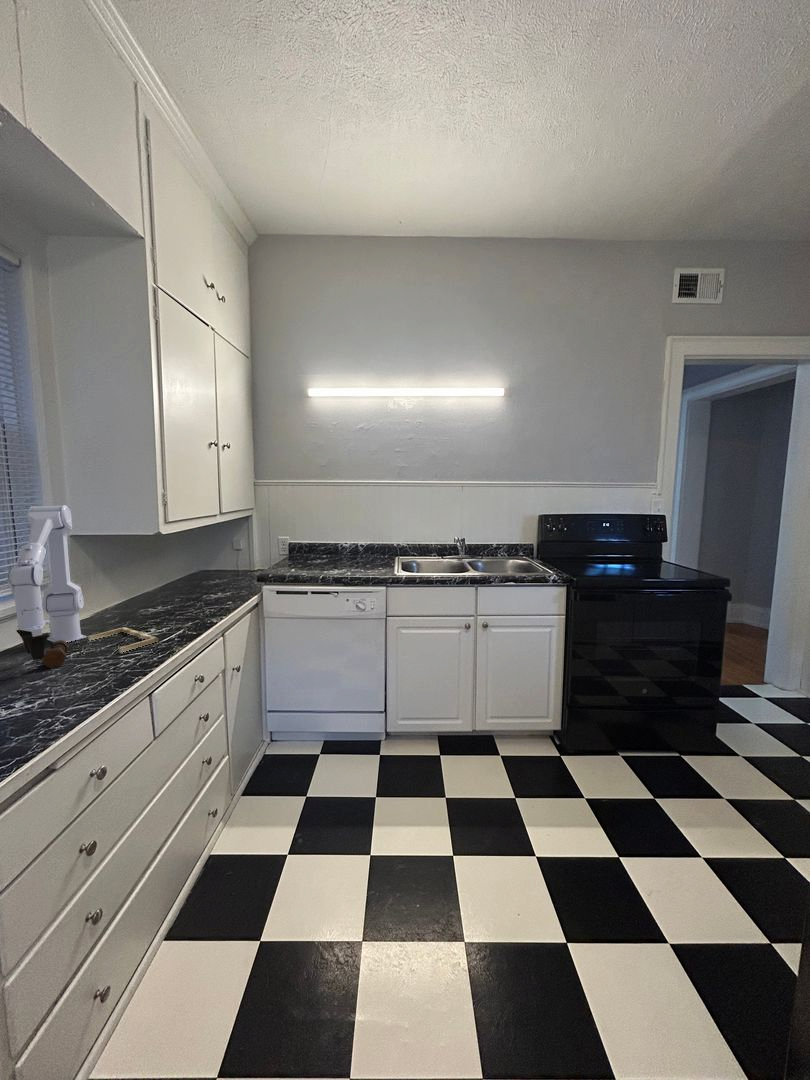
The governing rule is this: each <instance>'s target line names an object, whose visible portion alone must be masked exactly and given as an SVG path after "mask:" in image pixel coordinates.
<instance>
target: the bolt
mask: <svg viewBox="0 0 810 1080" xmlns="http://www.w3.org/2000/svg"><path fill="white" fill-rule="evenodd" d="M69 649H70V645H69V644H68V643H67V642H65V641H64V640H59V641H55V642H52V644H51V645H50V647H49V649H47V650H46V651H45V652H44V656H43V658H42V659H40V660H41V662H42V663H43V664H44V666H46V667H47V668H48V669H50V668H51V669H53V668H57V667H61V666H63V665H64V663H65V660H67V657H68V654H67V653H68V650H69Z"/></svg>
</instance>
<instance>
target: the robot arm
mask: <svg viewBox="0 0 810 1080" xmlns="http://www.w3.org/2000/svg"><path fill="white" fill-rule="evenodd" d="M26 518H27V521H28V523H29V526H30V527H31V528H30V531H29V537H28V542H27V544H24V545H22V546H21V548H20V551H19V554H18V557H17V560H16V563H15V566H13V567H11V568H9V570H8V571H7V580H6V581H7V583H8V586H9V587H10V593H11V594H13V596H14V602H15V603H14V605H15V611H16V619H17V629H16V630H15V631H16V632H17V633H18V635H19V637H20V638H21V640H22V643H23V645H24V647H25V650H26V652H27V654H28V655H29V654H30V656H31V658H32V660H33V661H37V660H42V658H43V657H44V655H45V647H46V643H47V641H50V642H52V643H53V642H55V641H59V640H64V641H65V642H68V643H70V642H71V641H72V642H74V641H75V640H76V641H78V640H82V639H86V638H88V636H86V635H83V634H82V631H81V621H80V614H79V612H80V611H82V609H83V607H84V606H85V598H84V595H83V591H82V588H81V586H79V585H78V584H76V583H73V582H71V572H70V571H71V570H70V560H69V547H68V545H69V544H68V532H70V531H72V530H73V520H72V512H71V509H70V508H69V507H68V505H66V504H63V505H46V506H45V505H42V506H35V505H31V506H29V508H28V510H27V514H26ZM47 540H48V551H49V562H50V565H49V566H50V572H51V573H50V574H51V575H50V576H51V585H50V586H48V587H47V588H46V589H45V590H44V591H43V599H42V592H41V585H42V583H43V581H44V567H43V564H44V561H45V557H46V554H47V549H46V548H45V544H46V542H47ZM44 612H45V613H46V614H48V616H49V618H48V619H46V620H45V616H44ZM45 625H48V627H49V632H47V631H46V632H44V633H43V630H42V629H43V628H44V626H45ZM72 642H71V643H72Z"/></svg>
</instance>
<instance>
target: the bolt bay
mask: <svg viewBox="0 0 810 1080" xmlns="http://www.w3.org/2000/svg"><path fill="white" fill-rule="evenodd" d="M120 632H124V633H123V634H125V633H127V634H126V635H128V634H130V635H129V636H131V635H133V636H132V637H134V636H136V637H135V638H137V637H139V638H138V639H140V638H142V639H141V640H142V641H137V642H135V643H131V644H128V645H124V646H119V647H118V653H119V654H124V653H127V652H126V651H128V652H130V651H129V650H131V651H133V650H132V649H134V650H137V649H136V648H138V647H141V648H143V647H142V646H144V647H146V646H145V645H148V644H151V645H153V644H152V643H154V644H156V643H155V642H157V643H159V638H158V637H157V636H154V635H150V634H147V633H144V632H141V631H139V630H134V629H131V628H128V627H125V626H123V627H118V628H114V629H111V630H107V631H104V632H100V633H99V632H98V633H95V634H91V635H88V636H87V638H88V639H87V640H89V641H88V642H92V641H91V640H94V641H96V640H95V639H97V640H100V639H99V638H101V639H103V637H105V638H108V636H109V637H111V635H112V636H115V635H114V634H116V635H119V634H118V633H120ZM120 634H121V633H120ZM143 639H145V640H143ZM148 646H149V645H148ZM138 649H139V648H138ZM123 652H124V653H123Z"/></svg>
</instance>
